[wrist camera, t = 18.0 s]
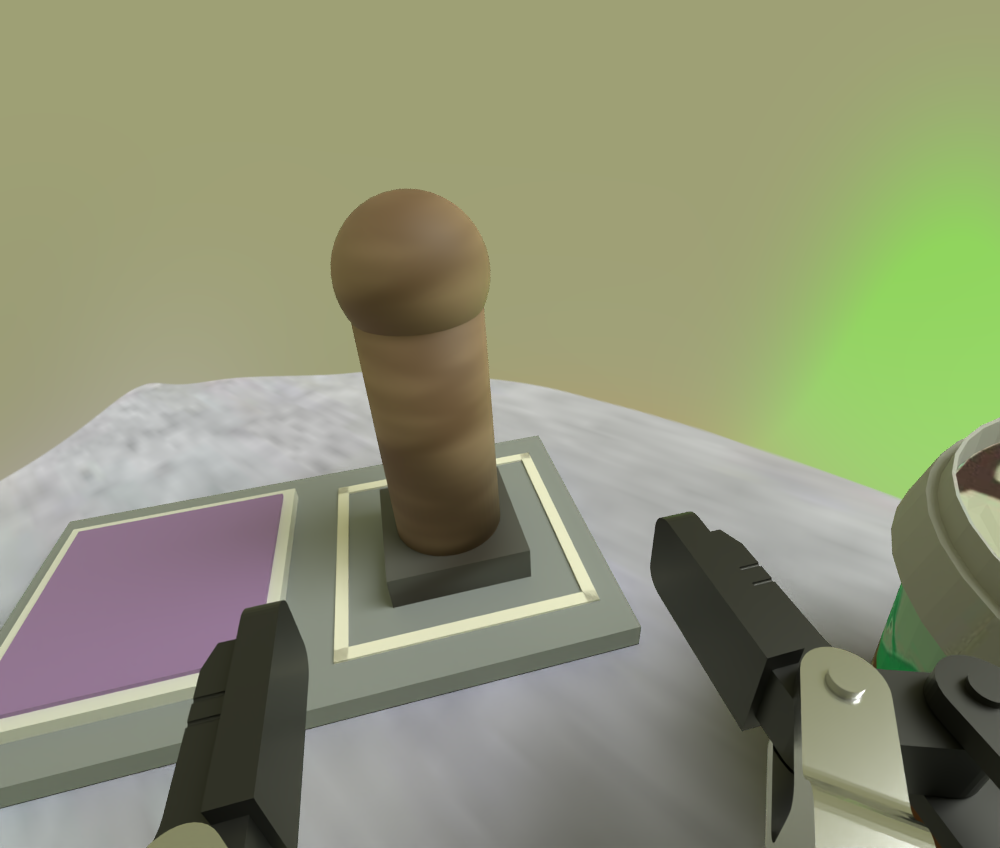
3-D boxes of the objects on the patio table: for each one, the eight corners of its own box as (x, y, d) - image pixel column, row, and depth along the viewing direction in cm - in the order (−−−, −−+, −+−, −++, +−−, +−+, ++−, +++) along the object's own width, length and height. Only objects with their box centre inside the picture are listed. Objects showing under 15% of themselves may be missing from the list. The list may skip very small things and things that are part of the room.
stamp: (393, 608, 21) (293, 220, 13) (385, 513, 26) (307, 185, 18) (531, 576, 22) (515, 196, 14) (499, 490, 27) (474, 168, 19)
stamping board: (-98, 833, 16) (-140, 806, 15) (79, 536, 27) (61, 509, 26) (638, 643, 20) (642, 612, 19) (538, 449, 31) (538, 423, 30)
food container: (867, 573, 22) (967, 354, 17) (1069, 662, 19) (1281, 420, 13) (744, 837, 15) (851, 602, 10) (1036, 1069, 11) (1480, 901, 6)
